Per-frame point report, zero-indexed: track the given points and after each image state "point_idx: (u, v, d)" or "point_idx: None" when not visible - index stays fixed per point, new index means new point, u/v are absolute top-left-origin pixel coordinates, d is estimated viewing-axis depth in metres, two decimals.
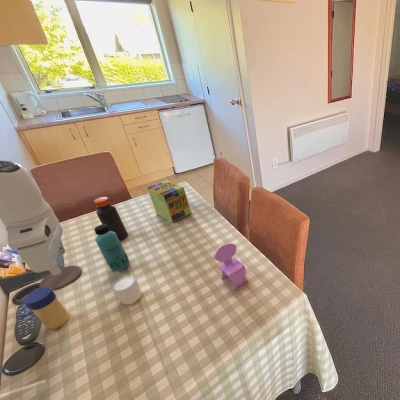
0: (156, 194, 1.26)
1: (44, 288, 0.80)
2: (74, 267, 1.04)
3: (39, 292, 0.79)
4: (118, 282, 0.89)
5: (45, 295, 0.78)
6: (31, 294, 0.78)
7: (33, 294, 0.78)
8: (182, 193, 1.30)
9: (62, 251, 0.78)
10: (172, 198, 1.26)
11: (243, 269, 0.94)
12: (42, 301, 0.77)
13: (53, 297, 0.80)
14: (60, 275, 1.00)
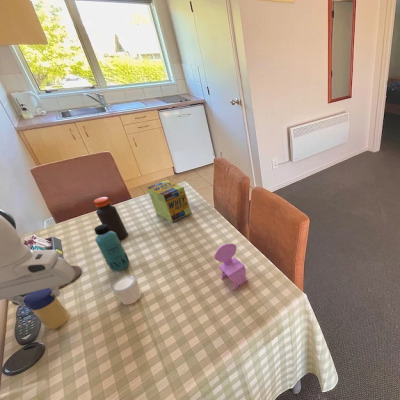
0: (156, 194, 1.26)
1: None
2: (74, 267, 1.04)
3: (39, 292, 0.79)
4: (118, 282, 0.89)
5: (45, 295, 0.78)
6: (31, 294, 0.78)
7: (33, 294, 0.78)
8: (182, 193, 1.30)
9: None
10: (172, 198, 1.26)
11: (243, 269, 0.94)
12: (42, 301, 0.77)
13: None
14: None
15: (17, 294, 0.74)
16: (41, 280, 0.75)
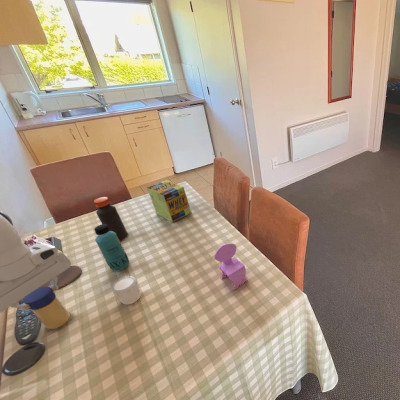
0: (156, 194, 1.26)
1: (35, 290, 0.79)
2: (74, 267, 1.04)
3: (36, 293, 0.79)
4: (118, 282, 0.89)
5: (49, 289, 0.80)
6: (28, 298, 0.77)
7: (31, 297, 0.77)
8: (182, 193, 1.30)
9: None
10: (172, 198, 1.26)
11: (243, 269, 0.94)
12: (51, 293, 0.79)
13: None
14: (60, 275, 1.00)
15: (25, 294, 0.74)
16: (46, 270, 0.78)
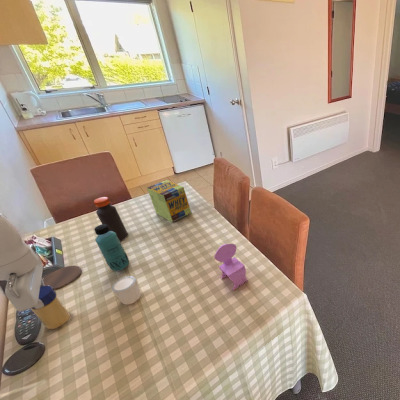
0: (156, 194, 1.26)
1: None
2: (74, 267, 1.04)
3: None
4: (118, 282, 0.89)
5: (45, 286, 0.81)
6: None
7: None
8: (182, 193, 1.30)
9: None
10: (172, 198, 1.26)
11: (243, 269, 0.94)
12: None
13: None
14: (60, 275, 1.00)
15: (39, 287, 0.76)
16: (36, 267, 0.79)
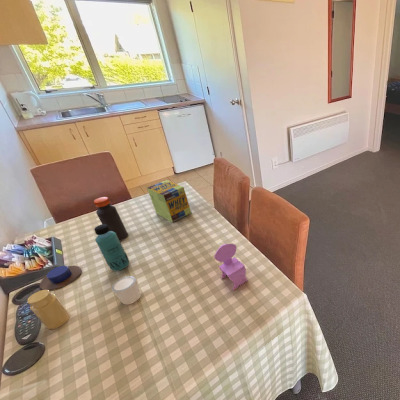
0: (156, 194, 1.26)
1: (48, 274, 0.97)
2: (74, 267, 1.04)
3: (54, 272, 0.97)
4: (118, 282, 0.89)
5: (60, 266, 1.00)
6: (55, 275, 0.96)
7: (55, 274, 0.97)
8: (182, 193, 1.30)
9: None
10: (172, 198, 1.26)
11: (243, 269, 0.94)
12: None
13: None
14: None
15: None
16: None
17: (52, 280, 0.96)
